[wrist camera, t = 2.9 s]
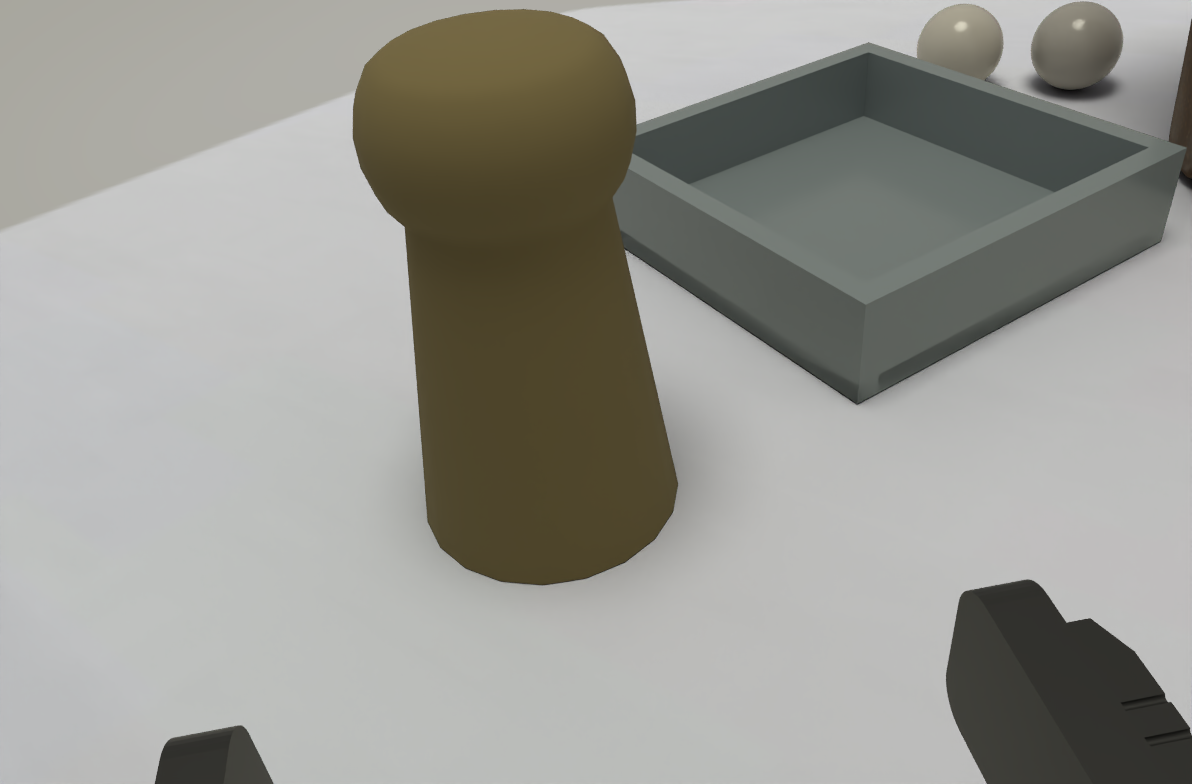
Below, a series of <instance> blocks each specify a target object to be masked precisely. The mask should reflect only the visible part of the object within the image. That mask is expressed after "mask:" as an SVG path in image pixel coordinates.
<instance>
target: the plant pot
mask: <svg viewBox="0 0 1192 784" xmlns="http://www.w3.org/2000/svg"><path fill="white" fill-rule="evenodd" d="M1169 142H1171V143H1174V144H1177V145H1180V146H1183V147H1186V148H1187V150H1186V153H1185V157H1184V160H1183V164H1182V167H1181V171H1182V172H1183V173H1184V174H1185V175H1186V176H1187V177H1188V178H1191V179H1192V20H1191V25H1190V31H1189V36H1188V41H1187V46H1186V52H1185V57H1184V62H1183V67H1182V72H1181V77H1180V82H1179V87H1178V92H1177V97H1176V102H1175V107H1174V112H1173V117H1172V123H1171V128H1170V134H1169Z"/></svg>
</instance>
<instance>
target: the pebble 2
mask: <svg viewBox="0 0 1192 784" xmlns="http://www.w3.org/2000/svg"><path fill="white" fill-rule="evenodd" d="M1122 47H1123V32H1122V29H1121V25H1120V23H1119V21H1118V19H1117V18H1116V17H1115V15H1114V14H1113V13H1112V12H1111V11H1110V10H1108V9H1107V8H1105V7H1104V6H1102V5H1099V4H1097V3H1093V2H1073V3H1070V4H1066V5H1064V6H1062V7H1059V8H1058V9H1056V10H1054V11H1053V12H1051V13H1050V14H1049V15H1048V16H1047V17H1046V18H1045V19H1044V20H1043V21H1042V22H1041V24H1040V25H1039V27H1038V28H1037V30H1036V32H1035V34H1034V37H1033V40H1032V44H1031V58H1032V63H1033V66H1034V68H1035V70H1036V72H1037V73H1038V75H1039V76H1040V77H1041V78H1042V79H1043V80H1044V81H1045V82H1047V83H1048V84H1050V85H1052V86H1054V87H1057V88H1060V89H1065V90H1076V89H1082V88H1086V87H1089V86H1091V85H1093V84H1095V83H1097V82H1099V81H1100V80H1102V79H1103V78H1104V77H1105V76H1107V75H1108V74H1109V73H1110V72H1111V70H1112V69H1113V68H1114V66H1115V65H1116V63H1117V61H1118V59H1119V57H1120V55H1121V52H1122Z"/></svg>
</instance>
